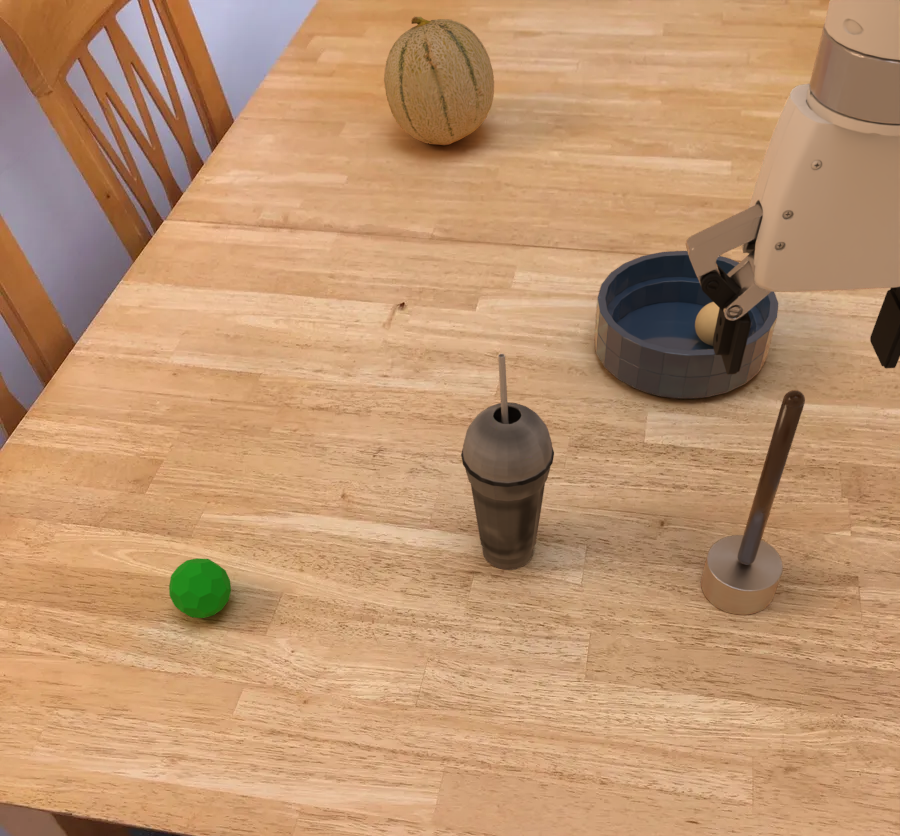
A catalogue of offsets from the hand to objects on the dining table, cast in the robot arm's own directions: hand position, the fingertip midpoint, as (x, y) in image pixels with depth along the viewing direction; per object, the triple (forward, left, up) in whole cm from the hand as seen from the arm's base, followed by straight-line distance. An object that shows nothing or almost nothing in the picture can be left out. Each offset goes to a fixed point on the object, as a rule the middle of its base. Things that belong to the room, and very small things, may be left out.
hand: (804, 357), depth 59 cm
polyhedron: (+45, 0, -24) cm, 51 cm away
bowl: (0, -32, -24) cm, 40 cm away
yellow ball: (-4, -32, -21) cm, 38 cm away
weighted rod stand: (0, 0, -24) cm, 24 cm away
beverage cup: (+19, -5, -24) cm, 31 cm away
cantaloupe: (+25, -81, -24) cm, 88 cm away
